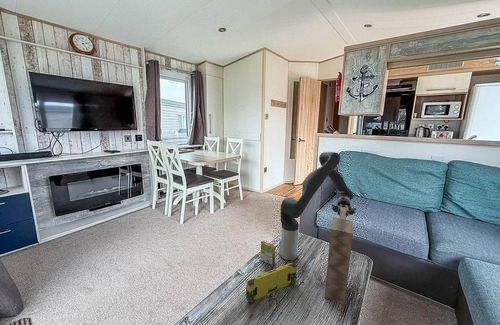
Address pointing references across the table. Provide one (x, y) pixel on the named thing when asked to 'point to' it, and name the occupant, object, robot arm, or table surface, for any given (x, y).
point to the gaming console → (270, 282)
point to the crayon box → (267, 252)
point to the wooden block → (338, 260)
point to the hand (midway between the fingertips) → (342, 214)
